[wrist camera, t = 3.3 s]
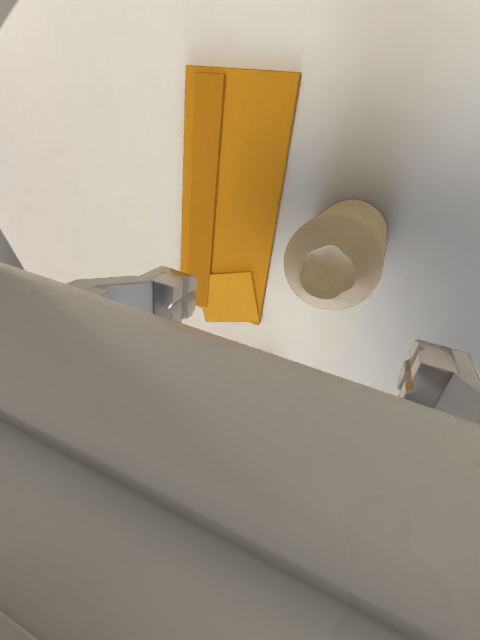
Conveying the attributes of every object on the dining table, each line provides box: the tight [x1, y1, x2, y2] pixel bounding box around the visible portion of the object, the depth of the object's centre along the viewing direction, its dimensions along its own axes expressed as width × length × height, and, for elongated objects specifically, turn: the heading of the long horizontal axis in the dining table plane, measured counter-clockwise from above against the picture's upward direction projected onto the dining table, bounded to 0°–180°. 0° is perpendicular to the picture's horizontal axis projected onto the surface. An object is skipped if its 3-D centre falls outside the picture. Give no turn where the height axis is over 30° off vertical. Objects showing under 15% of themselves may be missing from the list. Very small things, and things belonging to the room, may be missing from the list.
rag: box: [181, 65, 301, 325], centre depth 29 cm, size 9×21×1 cm, turn 172°
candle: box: [284, 200, 387, 310], centre depth 21 cm, size 6×6×10 cm
